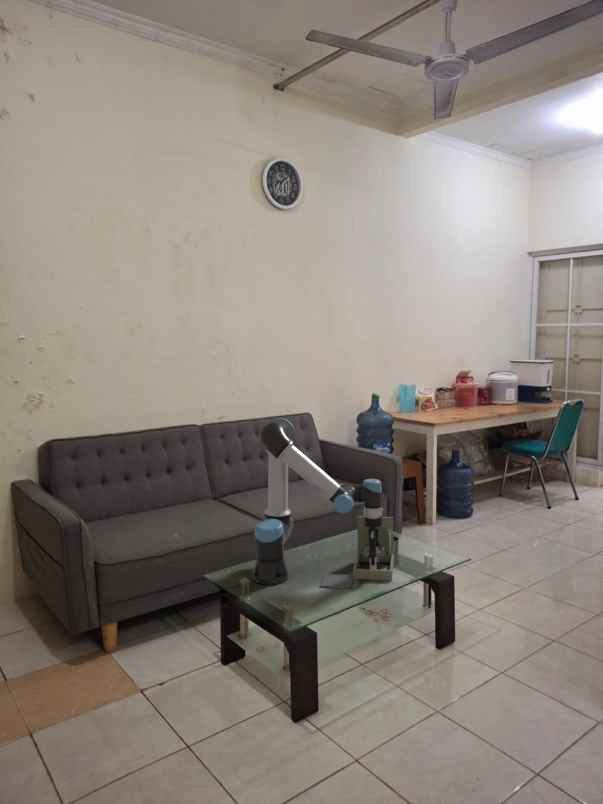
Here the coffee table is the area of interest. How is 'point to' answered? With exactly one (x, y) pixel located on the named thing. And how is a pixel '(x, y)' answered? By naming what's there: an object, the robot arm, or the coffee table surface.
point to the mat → (336, 581)
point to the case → (385, 542)
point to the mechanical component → (373, 554)
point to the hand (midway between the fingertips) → (374, 566)
